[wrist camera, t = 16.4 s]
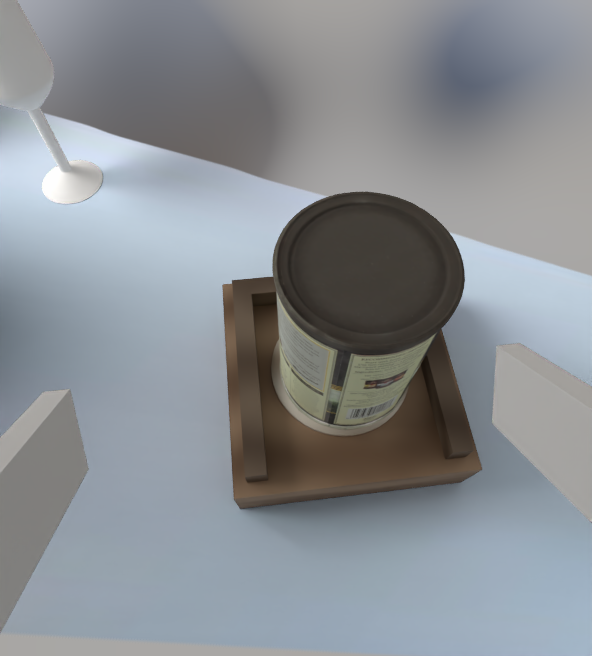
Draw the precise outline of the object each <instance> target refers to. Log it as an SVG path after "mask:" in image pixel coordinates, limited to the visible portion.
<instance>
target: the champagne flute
mask: <svg viewBox="0 0 592 656" xmlns="http://www.w3.org/2000/svg"><path fill="white" fill-rule="evenodd" d="M53 81H54V68H53V64H52V61H51V60H50V58H49V56H48V54H47V53H46V51H45V49H44V47H43V45H42V44H41V42H40V40H39V38H38V37H37V35H36V33H35V31H34V29H33V28H32V26H31V24H30V22H29V21H28V19H27V17H26V15H25V14H24V12H23V10H22V8H21V7H20V5H19V3H18V1H17V0H0V105H3V106H5V107H9V108H13V109H17V110H21V111H28V113H29V115H30V116H31V118H32V120H33V122H34V124H35V125H36V127H37V129H38V131H39V133H40V134H41V136H42V138H43V140H44V142H45V144H46V145H47V147H48V149H49V151H50V153H51V154H52V156H53V158H54V160H55V162H56V163H57V165H58V166H56V167H54V168H53V169H52V170H50V171H49V172H48V174H47V175H46V176H45V178H44V180H43V183H42V190H43V193H44V194H45V196H46V197H47V198H48V199H50V200H51V201H53V202H56V203H61V204H72V203H77V202H81V201H83V200H85V199H88V198H89V197H91V196H92V195H93V194H94V193H96V192H97V190H98V189H99V188H100V186H101V184H102V180H103V175H102V172H101V170H100V169H99V167H98V166H96V165H95V164H93V163H91V162H88V161H83V160H74V161H68V160H67V158H66V156H65V154H64V153H63V151H62V149H61V147H60V145H59V143H58V141H57V139H56V137H55V135H54V133H53V131H52V130H51V128H50V126H49V124H48V122H47V120H46V118H45V116H44V114H43V112H42V110H41V109H40V106H41V105H42V104H43V103H44V101H45V99H46V98H47V96H48V94H49V93H50V91H51V88H52V85H53Z"/></svg>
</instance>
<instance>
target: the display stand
mask: <svg viewBox="0 0 592 656" xmlns="http://www.w3.org/2000/svg"><path fill="white" fill-rule="evenodd" d="M222 286H223V305H224V324H225V342H226V361H227V380H228V399H229V417H230V436H231V455H232V474H233V492H234V500H235V502H236V503H237V505H238V506H239V508H240V509H244V508H252V507H260V506H269V505H277V504H285V503H294V502H302V501H310V500H319V499H327V498H335V497H343V496H352V495H360V494H368V493H377V492H385V491H393V490H402V489H410V488H418V487H427V486H435V485H443V484H451V483H460V482H462V481H464V480H466V479H467V478H469V477H470V476H472V475H474V474H475V473H477V472H479V471H480V470H482V467H481V464H480V460H479V457H478V453H477V450H476V446H475V443H474V439H473V436H472V433H471V429H470V426H469V422H468V419H467V415H466V412H465V408H464V405H463V402H462V398H461V395H460V391H459V388H458V384H457V381H456V377H455V374H454V371H453V367H452V364H451V360H450V357H449V353H448V350H447V346H446V343H445V340H444V336H443V333H442V329H441V330H440V332H439V334H438V335H437V337H436V339H435V341H434V342H433V344H432V346H431V348H430V349H429V351H428V353H427V355H426V356H425V357H424V359H423V361H422V363H421V364H420V366H419V368H418V370H417V371H416V373H415V375H414V377H413V378H412V380H411V382H410V384H409V386H408V387H407V389H406V391H405V394H404V396H403V398H402V400H401V401H400V403H399V404H398V406H397V407H396V408H395V409H394V411H393V412H391V413H390V414H389V415H388V416H386V417H385V418H384V419H382V420H380V421H379V422H377V423H374V424H372V425H369V426H366V427H362V428H357V429H348V430H345V429H337V428H331V427H327V426H324V425H322V424H319V423H317V422H315V421H313V420H311V419H310V418H308V417H307V416H306V415H304V414H303V413H301V412H300V411H299V410H298V409H297V408H296V406H295V405H294V404H293V403H292V401H291V400H290V399H289V397H288V395H287V393H286V392H285V390H284V387H283V384H282V381H281V376H280V343H279V327H278V310H277V292H276V287H275V283H274V277H264V278H253V279H242V280H232V284H224V285H222Z"/></svg>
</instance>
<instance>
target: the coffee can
mask: <svg viewBox="0 0 592 656" xmlns="http://www.w3.org/2000/svg"><path fill="white" fill-rule="evenodd" d="M273 277H274V283H275V287H276V292H277V310H278V327H279V343H280V376H281V381H282V384H283V387H284V390H285V392H286V393H287V395H288V397H289V399H290V400H291V401H292V403H293V404H294V405H295V406H296V408H297V409H298V410H299V411H300V412H301V413H303V414H304V415H306V416H307V417H308V418H310V419H311V420H313V421H315V422H317V423H319V424H322V425H324V426H327V427H331V428H337V429H345V430H348V429H357V428H362V427H366V426H369V425H372V424H374V423H377V422H379V421H380V420H382V419H384V418H385V417H386V416H388V415H389V414H390V413H391V412H393V411H394V409H395V408H396V407H397V406H398V404H399V403H400V401H401V400H402V398H403V396H404V394H405V391H406V389H407V387H408V386H409V384H410V382H411V380H412V378H413V377H414V375H415V373H416V371H417V370H418V368H419V366H420V364H421V363H422V361H423V359H424V357H425V356H426V355H427V353H428V351H429V349H430V348H431V346H432V344H433V342H434V341H435V339H436V337H437V335H438V334H439V332H440V330H441V328H442V327H443V326H444V325H445V324H446V323H447V322H448V320H449V319H450V318H451V316H452V315H453V313H454V312H455V310H456V308H457V306H458V304H459V302H460V299H461V297H462V293H463V289H464V282H465V277H464V266H463V261H462V258H461V254H460V252H459V249H458V247H457V245H456V243H455V241H454V239H453V237H452V236H451V235H450V233H449V232H448V231H447V230H446V229H445V227H444V226H443V225H442V224H441V223H440V222H439V221H438V220H437V219H435V218H434V217H433V216H432V215H430V214H429V213H428V212H426V211H425V210H423V209H421V208H419V207H418V206H416V205H415V204H413V203H411V202H408V201H406V200H403V199H400V198H398V197H394V196H390V195H386V194H380V193H373V192H350V193H342V194H337V195H333V196H329V197H326V198H323V199H321V200H319V201H316V202H314V203H313V204H311V205H309V206H307V207H306V208H304V209H303V210H301V211H300V212H299V213H298V214H296V215H295V216H294V217H293V218H292V219H291V220H290V221H289V222H288V224H287V225H286V226H285V228H284V229H283V231H282V233H281V234H280V236H279V238H278V241H277V243H276V246H275V249H274V254H273Z"/></svg>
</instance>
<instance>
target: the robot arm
mask: <svg viewBox="0 0 592 656" xmlns="http://www.w3.org/2000/svg"><path fill="white" fill-rule="evenodd" d="M492 424H493V425H494V426H495V427H496V428H497V429H498V430H499V431H500V432H501V433H502V434H503V435H504V436H505V437H506V438H507V439H508V440H509V441H510V442H511V443H512V444H513V445H514V446H515V447H516V448H517V449H518V450H519V451H520V452H521V453H522V454H523V455H524V456H525V457H526V458H527V459H528V460H529V461H530V462H531V463H532V464H533V465H534V466H535V467H536V468H537V469H538V470H539V471H540V472H541V473H542V474H543V475H544V476H545V477H546V478H547V479H548V480H549V481H550V482H551V483H552V484H553V485H554V486H555V487H556V488H557V489H558V490H559V491H560V492H561V493H562V494H563V495H564V496H565V497H566V498H567V499H568V500H569V501H570V502H571V503H572V504H573V505H574V506H575V507H576V508H577V509H578V510H579V511H580V512H581V513H582V514H583V515H584V516H585V517H586V518H587V519H588V520H589V521H590V522H591V523H592V387H591V386H590V385H588V384H586V383H585V382H583V381H581V380H580V379H578V378H576V377H575V376H573V375H571V374H570V373H568V372H566V371H565V370H563V369H562V368H560V367H558V366H557V365H555V364H553V363H552V362H550V361H548V360H547V359H545V358H543V357H542V356H540V355H538V354H537V353H535V352H533V351H532V350H530V349H529V348H527V347H525V346H524V345H522V344H520V343H517V344H507V345H497V347H496V364H495V380H494V397H493V413H492ZM87 471H88V465H87V460H86V456H85V452H84V447H83V443H82V439H81V434H80V430H79V426H78V421H77V417H76V413H75V408H74V404H73V400H72V395H71V391H70V389H65V390H56V391H46V392H43V393H42V394H41V395H40V396H39V397H38V398H37V399H36V400H35V401H34V402H33V403H32V404H31V405H30V407H29V408H28V409H27V410H26V411H25V412H24V413H23V414H22V415H21V416H20V417H19V418H18V419H17V420H16V421H15V422H14V423H13V425H12V426H11V427H10V428H9V429H8V430H7V431H6V432H5V433H4V434H3V435H2V436H1V437H0V633H1V631H2V629H3V627H4V625H5V624H6V622H7V620H8V618H9V616H10V614H11V612H12V611H13V609H14V607H15V605H16V603H17V601H18V599H19V598H20V596H21V594H22V592H23V590H24V588H25V586H26V585H27V583H28V581H29V579H30V577H31V575H32V573H33V572H34V570H35V568H36V566H37V564H38V562H39V560H40V559H41V557H42V555H43V553H44V551H45V549H46V547H47V546H48V544H49V542H50V540H51V538H52V536H53V534H54V533H55V531H56V529H57V527H58V525H59V523H60V521H61V520H62V518H63V516H64V514H65V512H66V510H67V508H68V507H69V505H70V503H71V501H72V499H73V497H74V495H75V494H76V492H77V490H78V488H79V486H80V484H81V482H82V481H83V479H84V477H85V475H86V473H87Z"/></svg>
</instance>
